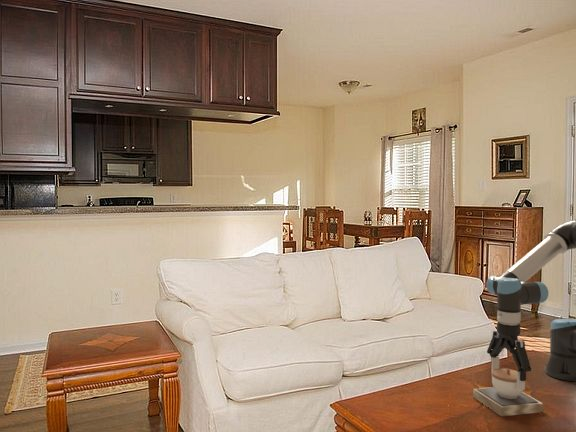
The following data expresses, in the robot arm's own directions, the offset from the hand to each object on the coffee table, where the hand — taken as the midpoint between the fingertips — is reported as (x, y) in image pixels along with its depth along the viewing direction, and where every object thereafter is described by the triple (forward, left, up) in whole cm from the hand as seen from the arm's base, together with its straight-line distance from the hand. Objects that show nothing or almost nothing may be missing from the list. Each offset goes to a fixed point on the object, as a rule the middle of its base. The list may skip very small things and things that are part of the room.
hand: (507, 382), depth 171 cm
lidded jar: (0, 0, -5) cm, 5 cm away
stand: (0, 0, -8) cm, 8 cm away
